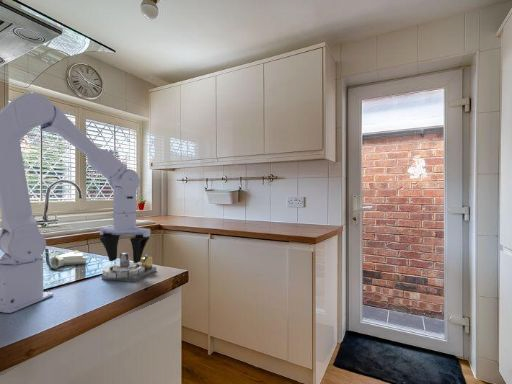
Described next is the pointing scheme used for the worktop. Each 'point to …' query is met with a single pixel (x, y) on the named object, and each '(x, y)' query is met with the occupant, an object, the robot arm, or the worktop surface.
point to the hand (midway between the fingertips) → (124, 261)
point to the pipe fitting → (67, 259)
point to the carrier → (130, 271)
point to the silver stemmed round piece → (124, 263)
